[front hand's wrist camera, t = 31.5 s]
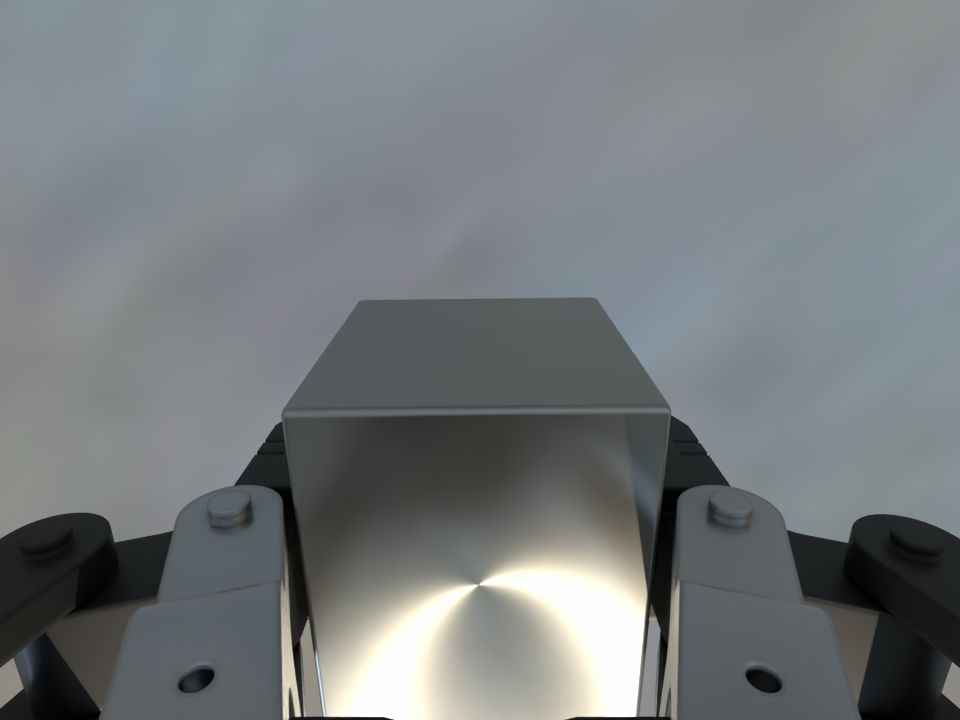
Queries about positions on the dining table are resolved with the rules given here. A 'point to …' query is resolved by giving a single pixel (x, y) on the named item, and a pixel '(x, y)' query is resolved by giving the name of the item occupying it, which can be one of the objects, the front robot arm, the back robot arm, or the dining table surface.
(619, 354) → the block
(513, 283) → the dining table surface
